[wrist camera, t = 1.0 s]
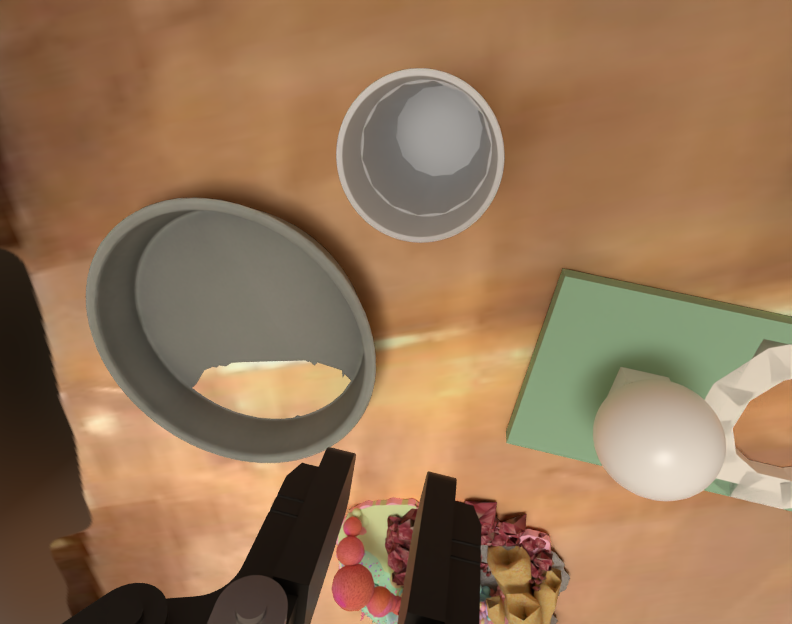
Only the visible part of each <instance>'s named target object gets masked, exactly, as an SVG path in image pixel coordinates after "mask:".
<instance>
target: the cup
mask: <svg viewBox="0 0 792 624" xmlns="http://www.w3.org/2000/svg"><path fill="white" fill-rule="evenodd" d="M336 160H337V169H338V174H339V178H340V182H341V185H342V187H343V190H344V192H345V194H346V196H347V198H348V200H349V202H350V203H351V205H352V206H353V208H354V209H355V210H356V211H357V213H358V214H359V215H360V216H361V217H362V218H363V219H364V220H365V221H366V222H367V223H369V224H370V225H371V226H372V227H374V228H375V229H377V230H378V231H380V232H382V233H384V234H386V235H388V236H390V237H393V238H396V239H399V240H403V241H408V242H419V243H423V242H434V241H439V240H443V239H446V238H449V237H452V236H454V235H456V234H458V233H460V232H462V231H464V230H465V229H467V228H468V227H470V226H471V225H472V224H473V223H475V222H476V221H477V220H478V219H479V218H480V217H481V216H482V215H483V213H484V212H485V211H486V210H487V208H488V207H489V206H490V204H491V202H492V201H493V199H494V197H495V195H496V193H497V191H498V188H499V186H500V182H501V179H502V175H503V169H504V143H503V137H502V133H501V130H500V127H499V124H498V121H497V119H496V117H495V115H494V113H493V111H492V109H491V108H490V106H489V105H488V103H487V102H486V101H485V99H484V98H483V97H482V96H481V95H480V94H479V93H478V92H477V91H476V90H475V89H474V88H473V87H471V86H470V85H469V84H467V83H466V82H465V81H463V80H461V79H460V78H458V77H456V76H454V75H451V74H449V73H446V72H443V71H439V70H435V69H427V68H412V69H405V70H400V71H397V72H394V73H391V74H388V75H386V76H384V77H382V78H380V79H378V80H377V81H375V82H374V83H372V84H371V85H370V86H368V87H367V88H366V89H365V90H364V91H363V92H362V93H361V94H360V95H359V96H358V97H357V98H356V99H355V101H354V102H353V103H352V105H351V106H350V108H349V110H348V111H347V113H346V115H345V117H344V120H343V122H342V125H341V128H340V131H339V135H338V140H337V150H336Z"/></svg>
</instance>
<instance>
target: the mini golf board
mask: <svg viewBox="0 0 792 624" xmlns="http://www.w3.org/2000/svg"><path fill="white" fill-rule="evenodd" d="M644 379H659V380H666V381H670V382H674V383H677V384H680V385H682V386H684V387H686V388H688V389H690V390H692V391H693V392H695V393H696V394H698V395H699V396H700V397H702V398H703V399H704V400H705V401H706V402H707V403H708V404H709V405H710V406H711V408H712V409H713V410H714V412H715V413H716V415H717V416H718V418H719V420H720V422H721V425H722V427H723V430H724V434H725V438H726V455H725V460H724V463H723V466H722V469H721V471H720V472H719V474H718V476H717V477H716V479H715V480H714V481H713V482H712V483H711V484H710V485H709V486H708V487H707V488H706V489H704V490H705V491H709V492H713V493H718V494H722V495H726V496H730V497H734V498H738V499H743V500H747V501H751V502H755V503H759V504H763V505H768V506H772V507H776V508H780V509H784V510H788V511H792V466H791V467H784V468H782V467H777V466H773V465H769V464H764V463H760V462H756V461H752V460H749V459H748V458H746V457H745V456H744V455H743V454H742V453H741V452H740V451H739V450H737V449H736V448H735V442H734V435H733V427H734V425H735V424H736V422H737V420H738V419H739V417H740V416H741V414H742V412H743V411H744V409H745V408H746V406H747V404H748V403H749V401H751V400H752V399H754V398H756V397H757V396H759V395H761V394H762V393H764V392H766V391H767V390H769V389H771V388H772V387H774V386H776V385H777V384H779V383H781V382H782V381H784V380H789V379H792V317H790V316H786V315H781V314H776V313H771V312H767V311H762V310H757V309H752V308H748V307H743V306H738V305H733V304H729V303H724V302H719V301H715V300H710V299H705V298H700V297H696V296H691V295H686V294H681V293H677V292H672V291H667V290H662V289H658V288H653V287H648V286H644V285H639V284H634V283H629V282H625V281H620V280H615V279H610V278H606V277H601V276H596V275H591V274H587V273H582V272H577V271H573V270H568V269H562V272H561V275H560V277H559V280H558V283H557V286H556V289H555V292H554V295H553V298H552V301H551V303H550V306H549V309H548V312H547V315H546V318H545V321H544V324H543V327H542V329H541V332H540V335H539V338H538V341H537V344H536V347H535V350H534V353H533V355H532V358H531V361H530V364H529V367H528V370H527V373H526V376H525V379H524V381H523V384H522V387H521V390H520V393H519V396H518V399H517V402H516V405H515V407H514V410H513V413H512V416H511V419H510V422H509V425H508V428H507V431H506V440H507V443H509V444H513V445H517V446H521V447H525V448H530V449H534V450H538V451H542V452H546V453H551V454H555V455H559V456H563V457H567V458H571V459H576V460H580V461H584V462H588V463H592V464H596V465H601V466H602V464H601V462H600V460H599V459H598V456H597V453H596V450H595V447H594V441H593V424H594V420H595V416H596V414H597V411H598V409H599V407H600V406H601V404H602V403H603V401H604V400H605V399H606V398H607V397H608V396H609V395H610V394H611V393H612V392H614V391H615V390H616V389H618V388H619V387H621V386H623V385H625V384H628V383H630V382H634V381H638V380H644Z"/></svg>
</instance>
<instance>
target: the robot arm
mask: <svg viewBox="0 0 792 624" xmlns="http://www.w3.org/2000/svg"><path fill="white" fill-rule="evenodd" d="M355 458H356V454H355V453H351V452H347V451H343V450H339V449H335V448H331V447H328V448H327V449H326V451H325V453H324V456H323V458H322V461H321V463H320V465H319V467H317V466H313V465H309V464H305V463H301V464H300V465H299V466H298V467H296V468H295V469H294V470H293V471H292V472H291V473H289V474H288V475H287V476H286V478H285V480H284V482H283V484H282V486H281V488H280V490H279V492H278V495H277V497H276V498H275V500H274V502H273V505H272V507H271V509H270V512H269V513H268V515H267V517H266V519H265V521H264V523H263V525H262V527H261V529H260V531H259V533H258V535H257V537H256V539H255V541H254V543H253V545H252V547H251V549H250V552H249V554H248V556H247V558H246V560H245V562H244V564H243V566H242V568H241V569H240V571H239V573H238V574H237V575H236V576H235V578H233V579H232V580H231V581H230V582H229V583H228V584H227V585H225V586H224V587H222V588H221V589H219V590H217V591H215V592H212V593H210V594H206V595H202V596H195V597H181V598H168V599H166V598H165V596H164V594H163V593H162V592H161V591H160V590H159V589H158V588H156V587H155V586H152V585H150V584H145V583H133V584H127V585H124V586H121V587H119V588H116V589H114V590H112V591H111V592H109V593H107V594H106V595H104V596H103V597H101V598H100V599H98V600H97V601H95V602H94V603H92V604H91V605H89V606H88V607H86V608H85V609H83V610H82V611H80V612H79V613H77V614H76V615H74V616H73V617H71V618H70V619H68V620H67V621H65V622H64V623H63V624H310V623H311V619H312V616H313V613H314V610H315V607H316V604H317V601H318V598H319V594H320V591H321V588H322V585H323V582H324V579H325V576H326V573H327V570H328V566H329V563H330V560H331V557H332V554H333V551H334V548H335V545H336V541H337V538H338V535H339V532H340V529H341V526H342V523H343V519H344V516H345V512H346V509H347V504H348V500H349V495H350V489H351V483H352V477H353V471H354V465H355ZM456 481H457V480H456V478H453V477H449V476H445V475H441V474H437V473H432V472H427V476H426V479H425V483H424V487H423V491H422V495H421V499H420V502H419V506H418V510H417V514H416V518H415V523H414V528H413V533H412V538H411V544H410V550H409V556H408V562H407V568H406V574H405V580H404V586H403V592H402V598H401V604H400V610H399V616H398V622H397V624H479V620H480V575H481V567H480V564H481V529H482V525H481V523H480V520H479V518H478V515H477V513H476V511H475V508H474V506H473V505H469V504H465V503H461V502H457V501H455V495H456Z"/></svg>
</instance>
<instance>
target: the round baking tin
mask: <svg viewBox="0 0 792 624" xmlns="http://www.w3.org/2000/svg"><path fill="white" fill-rule="evenodd" d="M86 309H87V316H88V321H89V326H90V330H91V333H92V336H93V339H94V342H95V345H96V347H97V350H98V352H99V354H100V356H101V358H102V360H103V362H104V364H105V366H106V367H107V369H108V371H109V372H110V374H111V376H112V377H113V378H114V380H115V381H116V383H117V384H118V385H119V387H120V388H121V389H122V390H123V392H124V393H125V394H126V395H127V396H128V397H129V398H130V400H131V401H132V402H133V403H134V404H135V405H136V406H137V407H138V408H139V409H141V410H142V411H143V412H144V413H145V414H146V415H147V416H148V417H150V418H151V419H152V420H153V421H154V422H156V423H157V424H158V425H160V426H161V427H163V428H164V429H166V430H167V431H168V432H170V433H172V434H173V435H175V436H176V437H178V438H180V439H182V440H184V441H186V442H187V443H189V444H191V445H194V446H196V447H198V448H200V449H203V450H205V451H208V452H211V453H214V454H217V455H220V456H223V457H227V458H231V459H235V460H241V461H247V462H257V463H280V462H289V461H294V460H299V459H303V458H306V457H310V456H312V455H315V454H317V453H320V452H322V451H324V450H326V449H327V448H328V447H331V446H333V445H334V444H336V443H337V442H339V441H340V440H341V439H342V438H344V437H345V436H346V435H347V434H348V433H349V432H350V431H351V430H352V429H353V427H354V426H355V425H356V424H357V423H358V421H359V420H360V419H361V417H362V415H363V414H364V412H365V410H366V408H367V406H368V404H369V401H370V398H371V396H372V392H373V388H374V383H375V375H376V355H375V347H374V341H373V336H372V333H371V328H370V325H369V322H368V319H367V316H366V313H365V311H364V309H363V307H362V305H361V303H360V301H359V299H358V296H357V294H356V291H355V289H354V287H353V285H352V283H351V282H350V280H349V278H348V277H347V275H346V274H345V272H344V271H343V269H342V268H341V267H340V265H339V264H338V263H337V261H336V260H335V259H334V258H333V257H332V256H331V254H330V253H329V252H328V251H327V250H326V249H325V248H324V247H323V246H321V245H320V244H319V243H318V242H317V241H316V240H315V239H314V238H312V237H311V236H310V235H308V234H307V233H306V232H304V231H302V230H301V229H299V228H298V227H296V226H295V225H293V224H291V223H289V222H287V221H285V220H283V219H281V218H279V217H276V216H274V215H271V214H269V213H266V212H263V211H259V210H256V209H252V208H249V207H246V206H242V205H240V204H235V203H232V202H227V201H223V200H217V199H208V198H177V199H172V200H166V201H162V202H158V203H155V204H152V205H149V206H146V207H145V208H142V209H140V210H139V211H136V212H135V213H133V214H131V215H130V216H128V217H127V218H125V219H124V220H122V221H121V222H120V223H119V224H117V226H115V227H114V228H113V229H112V230H111V231H110V232H109V234H108V235H107V236H106V237H105V239H104V240H103V241H102V242H101V244H100V246H99V247H98V250H97V252H96V254H95V256H94V258H93V260H92V263H91V266H90V269H89V274H88V278H87V286H86ZM297 360H306V361H308V362H309V361H310V362H311V363H312V364H314V365H315V364H316V363H317V362H318V363H321V364H324V365H327V366H330V367H334V368H337V369H340V370H342V374H343V376H344V374H345V375H346V376H347V377H348V378H349V379H350V380H351V382H350V383H349V385H348V386H347V387H346V389H345V390H344V392H343V393H342V394H341V395H340V396H339V397H337V398H336V399H335V400H334V401H333V402H332V403H330V404H328V405H327V406H325V407H323V408H321V409H319V410H317V411H315V412H312V413H310V414H307V415H304V416H296V417H294V418H286V419H266V418H257V417H253V416H248V415H244V414H240V413H237V412H234V411H231V410H229V409H226V408H224V407H222V406H220V405H218V404H216V403H214V402H212V401H210V400H209V399H207V398H205V397H204V396H202V395H201V394H200V393H198V392H197V391H195V390H194V389H193V388H192V387H193V386H195V385H196V384H197V382H198V380H199V378H200V377H201V375H202V373H203V372H204V370H206V369H208V368H211V367H218V366H219V365H220V366H227V365H229V364H230V363H233V362H260V361H297Z"/></svg>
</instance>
